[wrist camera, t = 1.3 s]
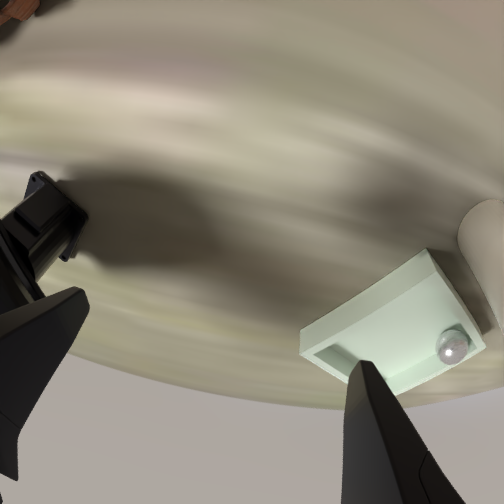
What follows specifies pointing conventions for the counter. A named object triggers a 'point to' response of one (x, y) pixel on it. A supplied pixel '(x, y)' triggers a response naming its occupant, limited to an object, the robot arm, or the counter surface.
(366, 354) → the tray
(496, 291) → the cylinder
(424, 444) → the robot arm
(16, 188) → the counter surface
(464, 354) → the ball
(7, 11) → the pottery mug
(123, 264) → the counter surface
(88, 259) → the counter surface
